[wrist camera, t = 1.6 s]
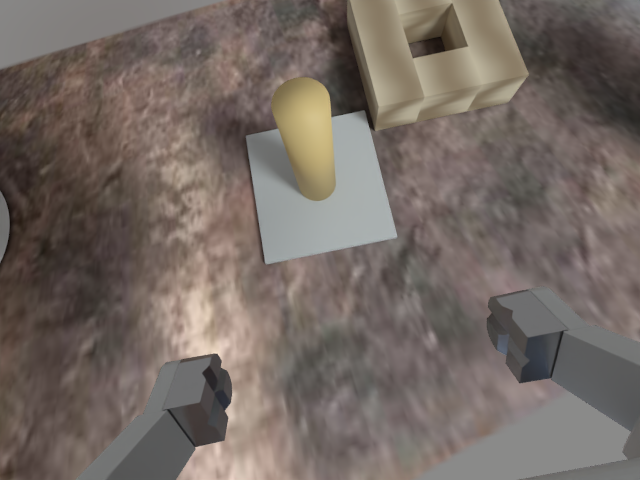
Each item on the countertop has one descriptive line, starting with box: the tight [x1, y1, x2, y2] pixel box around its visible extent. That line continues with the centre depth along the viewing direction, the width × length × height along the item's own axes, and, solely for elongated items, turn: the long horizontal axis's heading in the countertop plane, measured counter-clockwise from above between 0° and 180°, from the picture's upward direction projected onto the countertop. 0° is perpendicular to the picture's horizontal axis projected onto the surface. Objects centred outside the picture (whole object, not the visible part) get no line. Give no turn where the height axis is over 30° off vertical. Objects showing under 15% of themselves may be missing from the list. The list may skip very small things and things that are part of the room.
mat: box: [246, 110, 397, 264], centre depth 29 cm, size 11×12×1 cm
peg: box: [271, 77, 336, 201], centre depth 23 cm, size 3×3×11 cm
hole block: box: [347, 0, 529, 131], centre depth 30 cm, size 12×12×4 cm
